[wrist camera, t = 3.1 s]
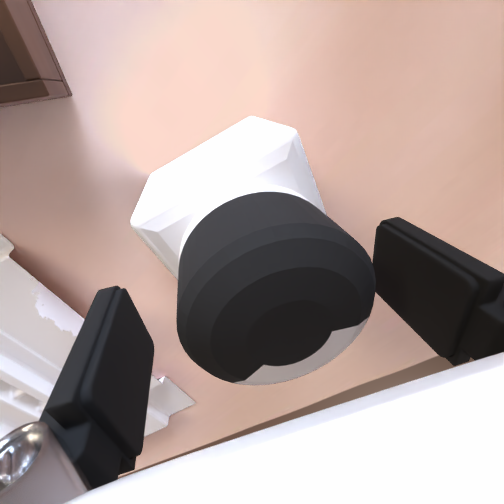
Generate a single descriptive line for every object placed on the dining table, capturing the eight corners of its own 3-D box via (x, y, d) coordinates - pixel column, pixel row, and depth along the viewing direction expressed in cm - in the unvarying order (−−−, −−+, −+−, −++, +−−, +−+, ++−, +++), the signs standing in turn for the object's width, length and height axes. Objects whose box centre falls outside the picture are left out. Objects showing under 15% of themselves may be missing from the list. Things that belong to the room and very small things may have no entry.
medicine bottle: (147, 174, 16) (78, 320, 5) (253, 112, 15) (389, 147, 5) (210, 259, 19) (237, 437, 9) (295, 212, 19) (421, 345, 9)
